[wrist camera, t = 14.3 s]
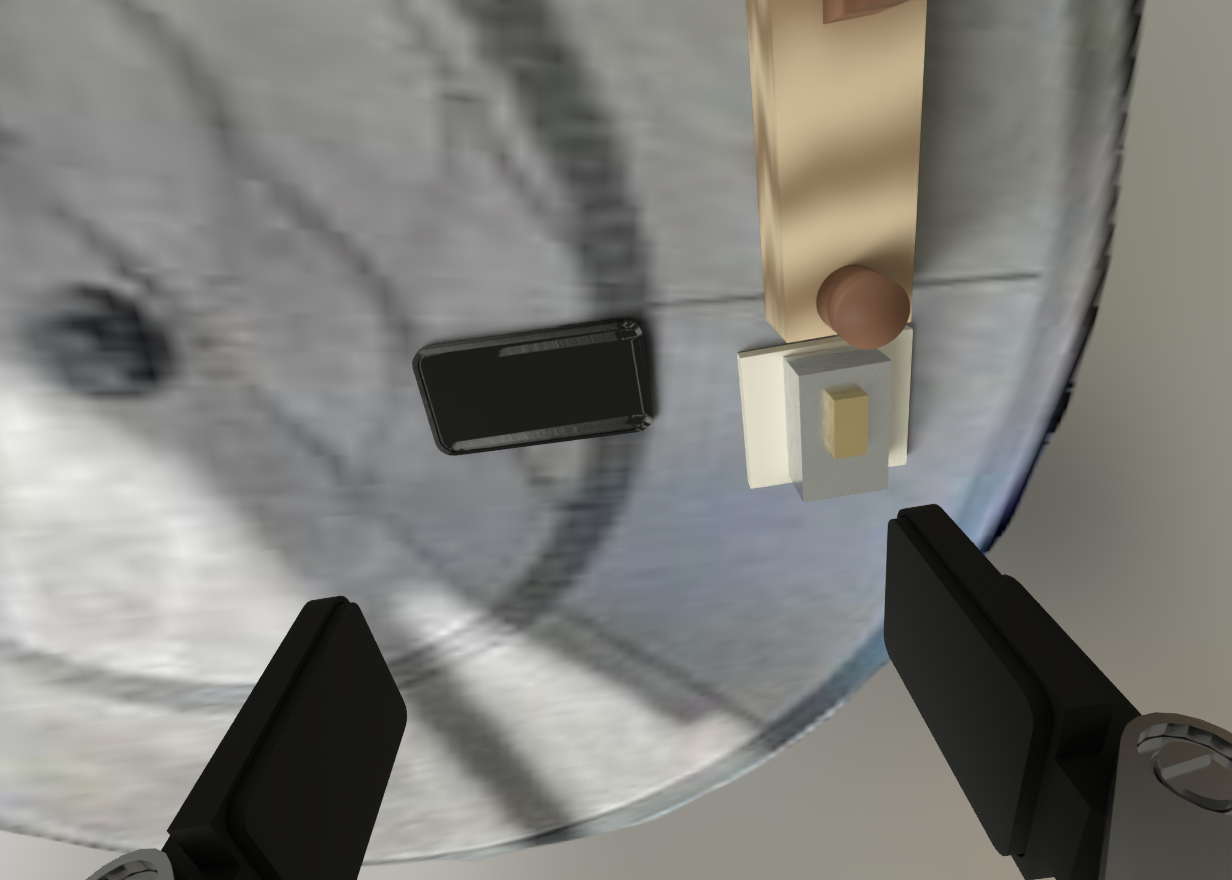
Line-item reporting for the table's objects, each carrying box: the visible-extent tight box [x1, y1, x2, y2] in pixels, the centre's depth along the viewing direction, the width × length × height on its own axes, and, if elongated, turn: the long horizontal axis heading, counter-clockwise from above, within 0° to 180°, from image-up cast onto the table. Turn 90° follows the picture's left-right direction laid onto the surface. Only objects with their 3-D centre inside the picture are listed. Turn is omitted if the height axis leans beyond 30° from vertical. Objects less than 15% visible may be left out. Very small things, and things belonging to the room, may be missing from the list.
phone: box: [412, 319, 653, 455], centre depth 41 cm, size 8×1×15 cm
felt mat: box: [737, 325, 913, 489], centre depth 42 cm, size 10×11×1 cm
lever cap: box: [783, 345, 892, 502], centre depth 40 cm, size 9×6×4 cm, turn 10°
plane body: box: [746, 0, 927, 350], centre depth 31 cm, size 18×7×10 cm, turn 10°
